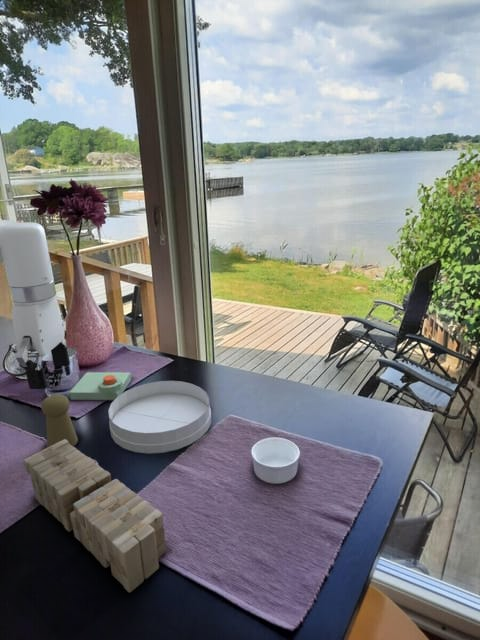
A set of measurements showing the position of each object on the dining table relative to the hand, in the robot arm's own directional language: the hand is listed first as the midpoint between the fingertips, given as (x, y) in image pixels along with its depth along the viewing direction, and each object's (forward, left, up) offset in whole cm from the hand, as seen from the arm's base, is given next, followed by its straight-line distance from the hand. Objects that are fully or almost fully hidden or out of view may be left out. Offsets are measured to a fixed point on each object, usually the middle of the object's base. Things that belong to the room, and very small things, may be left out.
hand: (50, 376), depth 86 cm
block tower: (+15, -21, -16) cm, 30 cm away
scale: (0, +23, -16) cm, 28 cm away
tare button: (+3, +20, -12) cm, 24 cm away
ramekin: (+44, -7, -16) cm, 47 cm away
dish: (+19, +8, -16) cm, 26 cm away
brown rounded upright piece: (0, 0, -16) cm, 16 cm away
